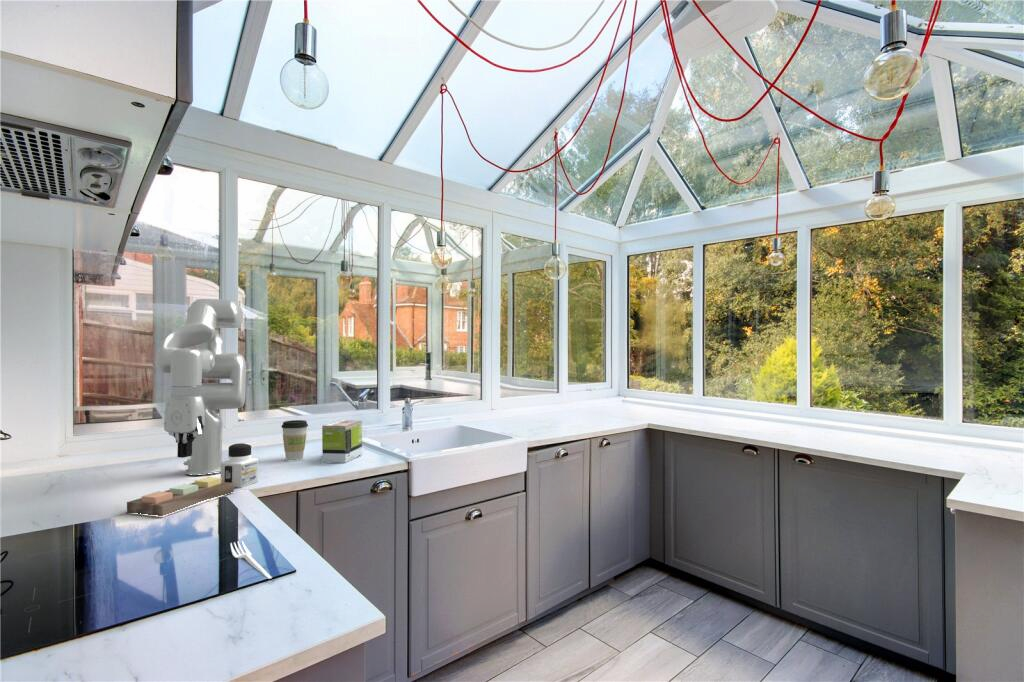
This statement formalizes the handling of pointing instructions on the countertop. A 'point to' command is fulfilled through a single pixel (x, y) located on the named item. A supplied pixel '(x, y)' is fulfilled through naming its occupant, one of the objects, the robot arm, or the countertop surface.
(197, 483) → the ochre key
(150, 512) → the key panel
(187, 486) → the sage key
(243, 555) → the fork
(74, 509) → the countertop surface
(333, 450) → the tea box
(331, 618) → the countertop surface
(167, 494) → the terracotta key
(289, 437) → the coffee cup
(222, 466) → the container
